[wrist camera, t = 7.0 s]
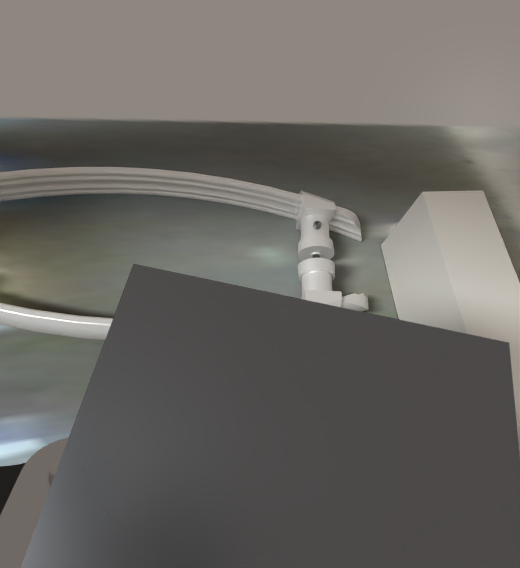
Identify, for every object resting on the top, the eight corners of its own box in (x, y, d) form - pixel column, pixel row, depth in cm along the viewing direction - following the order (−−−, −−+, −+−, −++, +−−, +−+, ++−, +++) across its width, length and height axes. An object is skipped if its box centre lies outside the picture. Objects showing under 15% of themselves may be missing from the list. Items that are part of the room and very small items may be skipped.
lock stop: (170, 510, 12) (-87, 855, 2) (200, 390, 14) (133, 263, 4) (286, 533, 12) (568, 982, 2) (302, 411, 14) (509, 342, 4)
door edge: (529, 574, 15) (658, 632, 11) (462, 583, 15) (566, 647, 10) (429, 243, 21) (483, 190, 17) (380, 245, 21) (422, 191, 17)
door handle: (-59, 174, 21) (354, 202, 23) (-137, 335, 17) (368, 357, 19) (-97, 140, 19) (369, 173, 20) (-198, 318, 15) (389, 345, 16)
